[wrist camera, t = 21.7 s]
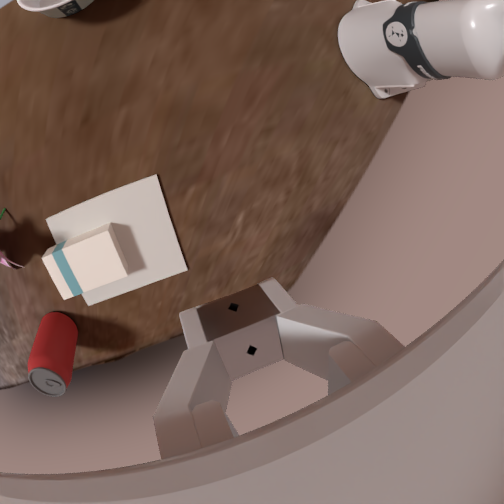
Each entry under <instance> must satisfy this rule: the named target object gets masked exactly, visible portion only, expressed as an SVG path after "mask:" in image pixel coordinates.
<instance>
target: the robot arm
mask: <svg viewBox="0 0 504 504" xmlns="http://www.w3.org/2000/svg"><path fill="white" fill-rule="evenodd" d="M338 41H339V46H340V49H341V52H342V55H343V57H344V59H345V61H346V63H347V64H348V66H349V67H350V69H351V70H352V71H353V72H354V73H355V74H356V75H357V76H358V77H359V78H360V79H361V80H362V81H364V82H365V83H366V84H367V85H368V86H369V87H370V89H371V90H372V92H373V93H374V95H375V96H376V97H377V98H378V99H383V98H387V97H390V96H394V95H397V94H400V93H404V92H407V91H411V90H414V89H418V88H421V87H424V86H425V85H426V81H430V80H433V79H437V80H442V79H448V78H450V77H466V78H476V79H485V80H495V79H499V78H501V77H503V76H504V0H446V1H437V2H431V3H427V2H423V1H420V2H409V3H406V4H402V3H400V2H397V1H396V0H386V1H380V2H376V3H370V2H368V1H365V0H357V1H356V2H355V4H354V6H353V9H352V10H351V11H350V12H349V13H347V14H346V15H345V16H344V17H343V18H342V20H341V22H340V24H339V28H338ZM196 309H197V310H196ZM179 316H180V320H181V324H182V328H183V331H184V335H185V339H186V342H187V345H188V350H186V351H184V352H183V354H182V356H181V358H180V360H179V362H178V365H177V367H176V369H175V371H174V373H173V375H172V377H171V379H170V381H169V384H168V386H167V388H166V390H165V392H164V394H163V396H162V399H161V401H160V403H159V405H158V407H157V410H156V411H155V414H154V416H153V420H154V426H155V431H156V436H157V441H158V446H159V451H160V455H161V460H157V461H152V462H147V463H143V464H137V465H132V466H126V467H120V468H114V469H107V470H99V471H91V472H80V473H65V474H14V473H2V472H0V504H504V260H503V261H502V262H501V263H500V264H499V265H498V267H496V269H495V270H494V271H493V272H492V273H491V274H490V275H489V276H488V277H487V278H486V279H485V280H484V281H483V282H482V283H481V284H480V285H479V286H478V287H477V288H476V289H475V290H474V291H473V292H471V294H469V295H468V296H467V297H466V298H465V299H464V300H463V301H462V302H461V303H460V304H458V305H457V306H456V307H455V308H454V309H453V310H451V311H450V312H449V313H448V314H447V315H446V316H445V317H443V318H442V319H441V320H440V321H438V322H437V323H436V324H435V325H433V326H432V327H431V328H430V329H428V330H427V331H426V332H425V333H423V334H422V335H421V336H419V337H418V338H417V339H415V340H414V341H413V342H411V343H410V344H409V345H407V346H406V347H405V346H403V345H402V344H401V343H400V342H399V341H398V340H397V339H396V338H395V337H394V336H393V335H392V334H390V333H389V332H388V331H387V330H386V329H385V328H384V327H383V326H382V325H380V324H379V323H378V322H377V321H374V320H370V319H365V318H361V317H356V316H352V315H348V314H344V313H340V312H335V311H331V310H327V309H323V308H319V307H315V306H311V305H307V304H301V305H298V304H297V303H296V302H295V301H294V300H293V299H292V297H291V296H290V295H289V294H288V293H287V292H286V291H285V289H284V288H283V287H282V286H281V285H280V284H279V283H278V282H277V280H276V279H275V278H270V279H267V280H265V281H263V282H260V283H258V284H257V285H254V286H252V287H249V288H247V289H244V290H242V291H239V292H237V293H234V294H231V295H229V296H225V297H222V298H220V299H217V300H214V301H211V302H208V303H205V304H202V305H200V306H197V307H196V308H195V307H194V308H191V309H188V310H186V311H183V312H180V314H179ZM283 359H284V360H285V361H287V362H289V363H291V364H293V365H295V366H298V367H300V368H302V369H304V370H306V371H308V372H310V373H312V374H315V375H317V376H319V377H321V378H323V379H326V380H328V396H326V397H324V398H322V399H320V400H318V401H317V402H314V403H313V404H310V405H308V406H307V407H304V408H302V409H300V410H298V411H297V412H294V413H292V414H290V415H288V416H285V417H283V418H281V419H279V420H277V421H274V422H272V423H270V424H268V425H265V426H263V427H260V428H258V429H255V430H253V431H250V432H248V433H245V434H243V435H240V436H239V434H238V432H237V431H236V429H235V428H234V426H233V424H232V423H231V421H230V419H229V418H228V416H227V415H226V409H227V404H228V399H229V395H230V390H231V385H232V381H233V380H235V379H238V378H240V377H243V376H245V375H247V374H249V373H251V372H254V371H256V370H258V369H261V368H264V367H266V366H268V365H271V364H274V363H276V362H278V361H281V360H283Z"/></svg>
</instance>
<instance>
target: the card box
mask: <svg viewBox="0 0 504 504" xmlns="http://www.w3.org/2000/svg"><path fill="white" fill-rule="evenodd" d="M42 260H43V262H44V264H45V266H46V268H47V270H48V272H49V274H50V276H51V278H52V279H53V281H54V283H55V285H56V287H57V289H58V290H59V292H60V294H61V296H62V297H63V299H64V300H65V299H68V298H71V297H73V296H77V295H79V294H82V293H84V292H87V291H89V290H92V289H94V288H97V287H100V286H103V285H105V284H108V283H111V282H113V281H116V280H119V279H121V278H124V277H127V276H128V264H127V262H126V259H125V257H124V255H123V252H122V250H121V248H120V245H119V243H118V240H117V238H116V235H115V233H114V230H113V228H112V225H111V222H110V223H108V224H105V225H102V226H100V227H97V228H95V229H93V230H90V231H88V232H85V233H83V234H80V235H78V236H76V237H73V238H71V239H69V240H66V241H64V242H61V243H59V244H57V245H55V246H53V247H50V248H48V249H47V251H46V252H45V254H44V255H43V257H42Z"/></svg>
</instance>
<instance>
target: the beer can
mask: <svg viewBox="0 0 504 504" xmlns="http://www.w3.org/2000/svg"><path fill="white" fill-rule="evenodd" d="M77 338H78V330H77V326H76V325H75V323H74V322H73V320H71V319H70V318H69V317H68V316H66V315H64V314H62V313H59V312H51V313H48V314H46V315H45V316H44V317H43V318H42V320H41V323H40V326H39V329H38V332H37V335H36V338H35V341H34V344H33V347H32V350H31V353H30V357H29V360H28V372H29V374H28V379H29V381H30V383H31V385H32V386H33V387H34V388H35V389H36V390H38V391H39V392H40V393H43V394H45V395H48V396H53V397H57V396H61V395H63V394H65V392H66V388H67V387H68V385H69V383H70V381H71V377H72V370H73V362H74V356H75V349H76V343H77Z"/></svg>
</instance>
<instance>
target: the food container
mask: <svg viewBox="0 0 504 504" xmlns="http://www.w3.org/2000/svg"><path fill="white" fill-rule="evenodd" d="M93 1H94V0H17V2H18V4H19V5H20V6H21V7H22V8H24V9H26V10H29V11H38V12H40V13H42V14H44V15H47V16H49V17H53V18H61V17H66V16H70V15H72V14H75V13H77V12H79V11H81V10H82V9H84V8H85V7H87V6H88V5H89V4H91V3H92V2H93Z"/></svg>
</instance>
